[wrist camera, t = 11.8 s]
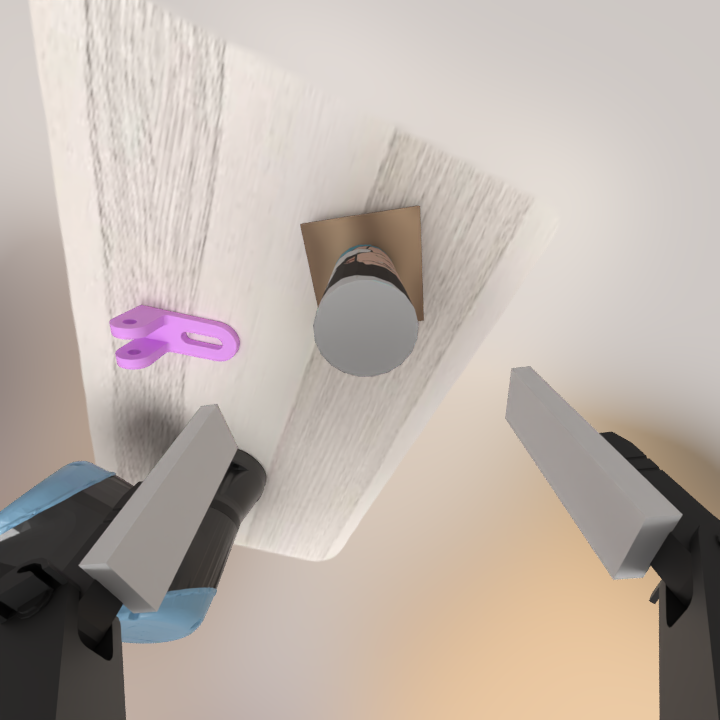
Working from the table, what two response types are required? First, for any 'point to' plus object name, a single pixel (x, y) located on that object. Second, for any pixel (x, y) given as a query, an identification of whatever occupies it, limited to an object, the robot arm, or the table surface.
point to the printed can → (365, 315)
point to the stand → (379, 229)
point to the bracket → (168, 336)
